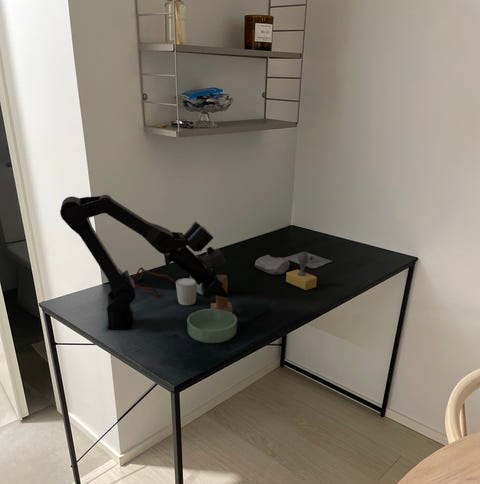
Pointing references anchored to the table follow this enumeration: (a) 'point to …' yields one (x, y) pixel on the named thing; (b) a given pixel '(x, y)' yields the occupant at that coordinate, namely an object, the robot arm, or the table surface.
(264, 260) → the stone block
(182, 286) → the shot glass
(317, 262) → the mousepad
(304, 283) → the rubber stamp
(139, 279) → the glasses
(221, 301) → the brown stepped block
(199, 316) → the bowl
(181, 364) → the table surface
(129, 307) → the robot arm
